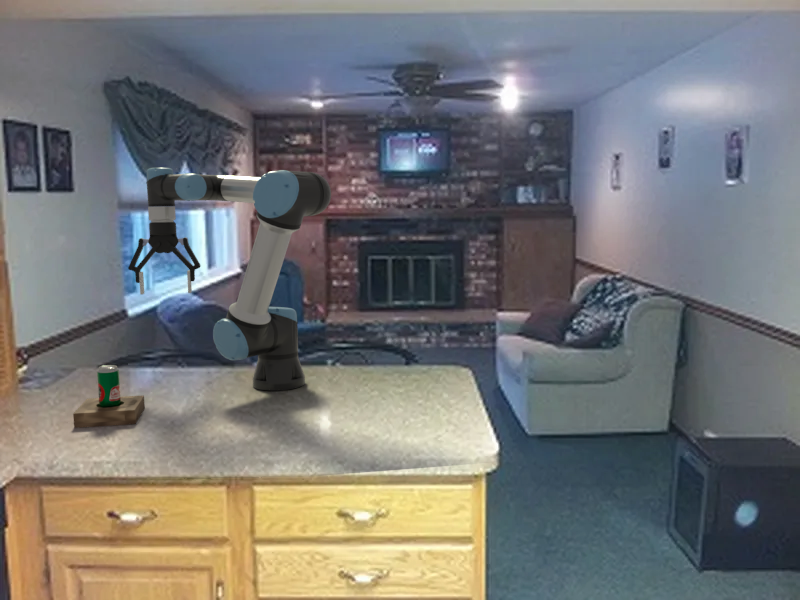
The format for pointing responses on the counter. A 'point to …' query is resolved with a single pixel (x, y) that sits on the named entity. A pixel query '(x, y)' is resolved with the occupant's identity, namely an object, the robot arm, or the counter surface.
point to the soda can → (108, 386)
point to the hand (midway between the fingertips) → (166, 293)
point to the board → (109, 412)
